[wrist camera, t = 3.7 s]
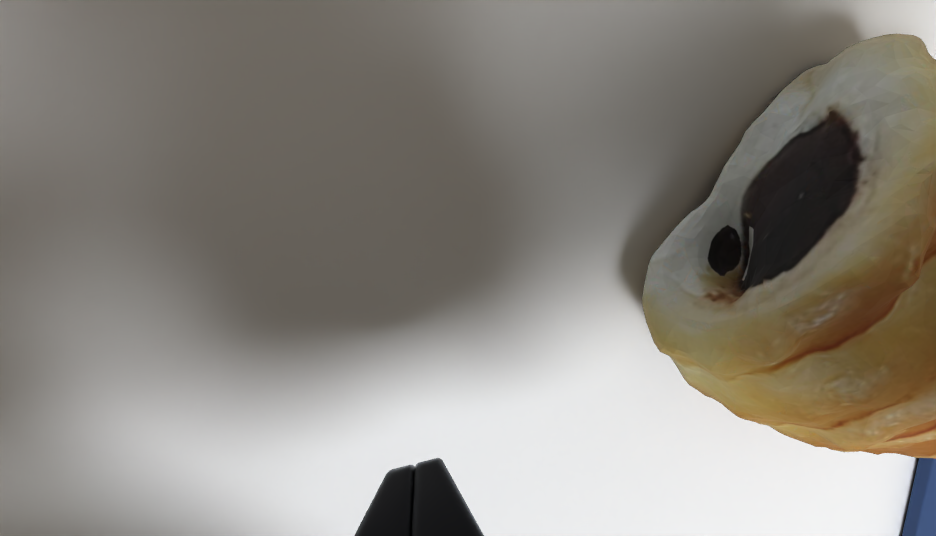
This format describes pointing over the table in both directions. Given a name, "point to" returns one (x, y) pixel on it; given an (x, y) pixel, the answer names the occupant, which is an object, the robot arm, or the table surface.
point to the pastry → (818, 260)
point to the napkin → (922, 501)
